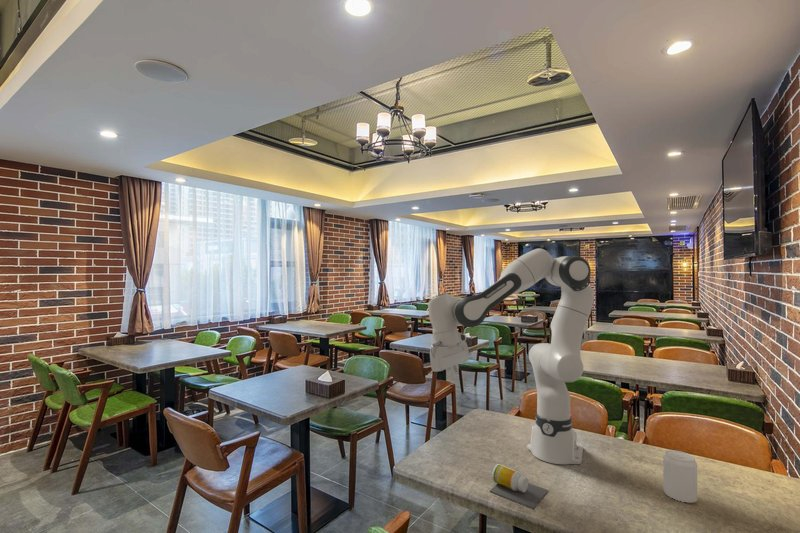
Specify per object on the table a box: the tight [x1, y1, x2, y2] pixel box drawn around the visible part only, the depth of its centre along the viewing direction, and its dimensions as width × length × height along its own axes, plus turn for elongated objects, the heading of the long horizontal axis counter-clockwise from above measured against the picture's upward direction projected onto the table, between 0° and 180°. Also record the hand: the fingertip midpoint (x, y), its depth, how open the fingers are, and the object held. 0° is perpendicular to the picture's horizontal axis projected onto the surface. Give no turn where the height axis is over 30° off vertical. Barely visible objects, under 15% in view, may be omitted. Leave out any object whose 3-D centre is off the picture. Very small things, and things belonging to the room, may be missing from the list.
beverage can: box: [662, 449, 698, 504], centre depth 114 cm, size 8×8×12 cm
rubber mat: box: [489, 482, 549, 510], centre depth 114 cm, size 12×13×1 cm
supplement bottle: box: [491, 463, 529, 492], centre depth 116 cm, size 5×5×10 cm
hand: (454, 379), depth 135 cm, fingers closed
